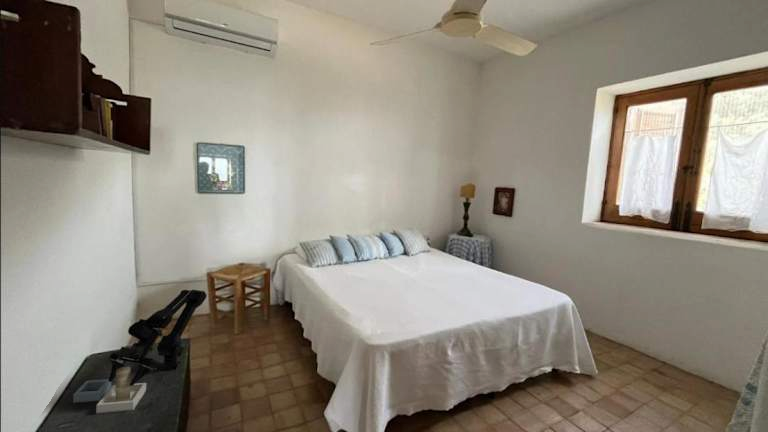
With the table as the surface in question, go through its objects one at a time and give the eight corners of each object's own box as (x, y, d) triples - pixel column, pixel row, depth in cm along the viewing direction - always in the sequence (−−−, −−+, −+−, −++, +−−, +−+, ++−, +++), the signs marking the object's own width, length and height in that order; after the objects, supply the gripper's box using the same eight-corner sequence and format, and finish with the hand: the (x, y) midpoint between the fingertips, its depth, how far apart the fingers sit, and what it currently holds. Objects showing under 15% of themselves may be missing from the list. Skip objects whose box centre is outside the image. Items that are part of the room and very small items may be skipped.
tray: (112, 393, 128) (112, 385, 127) (146, 390, 131) (146, 382, 131) (96, 413, 117) (96, 405, 116) (133, 410, 120) (133, 401, 120)
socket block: (86, 388, 129) (86, 380, 128) (111, 386, 131) (111, 379, 131) (73, 402, 121) (73, 394, 120) (99, 400, 123) (99, 392, 123)
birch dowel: (115, 399, 124) (115, 368, 123) (129, 394, 127) (129, 365, 126) (116, 405, 121) (116, 374, 120) (130, 400, 124) (131, 370, 123)
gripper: (113, 333, 126) (83, 374, 117) (154, 340, 124) (128, 383, 115) (130, 342, 135) (104, 381, 125) (169, 349, 133) (146, 389, 123)
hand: (120, 383), depth 122 cm, fingers open, 9 cm apart
